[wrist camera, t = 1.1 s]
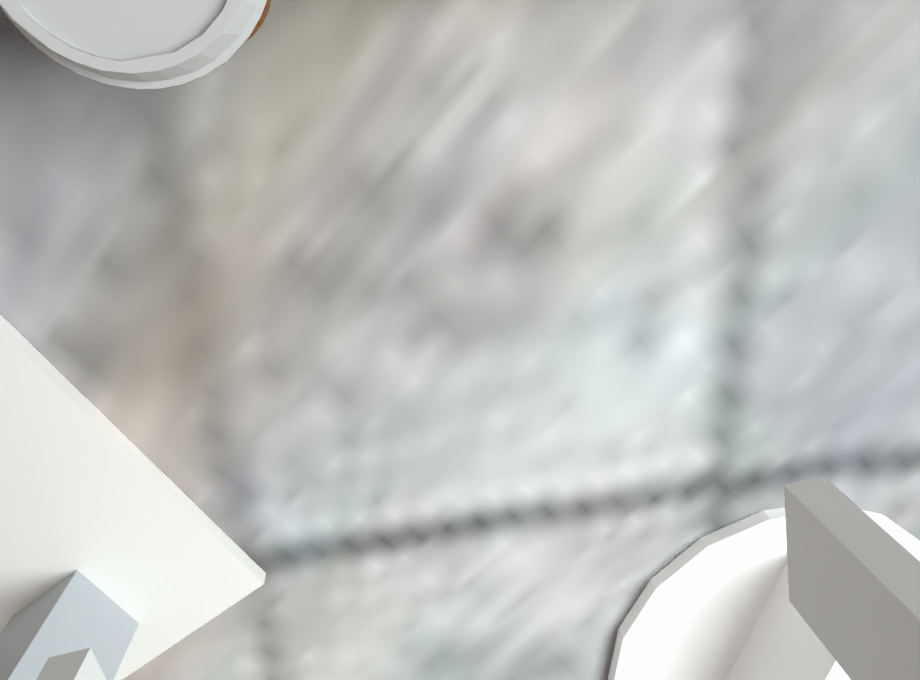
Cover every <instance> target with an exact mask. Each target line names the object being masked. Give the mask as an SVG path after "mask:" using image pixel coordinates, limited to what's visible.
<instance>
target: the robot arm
mask: <svg viewBox="0 0 920 680" xmlns="http://www.w3.org/2000/svg"><path fill="white" fill-rule="evenodd" d="M784 494H785V517H786V541H787V564H788V588H789V601H790V603H791V604H792V605H793V607H794V608H795V609H796V610H797V612H798V613H799V614H800V615H801V617H802V618H803V619H804V620H805V622H806V623H807V624H808V626H809V627H810V628H811V629H812V631H813V632H814V633H815V634H816V636H817V637H818V638H819V640H820V641H821V642H822V643H823V645H824V646H825V647H826V648H827V650H828V651H829V652H830V653H831V655H832V656H833V657H834V659H835V660H836V661H837V662H838V664H839V665H840V666H841V667H842V669H843V670H844V671H845V673H846V674H847V675H848V676H849V678H850V679H851V680H920V561H919V560H918V559H917V558H915V557H914V556H913V555H912V554H911V553H910V552H909V551H907V550H906V549H905V548H904V547H903V546H902V545H901V544H900V543H898V542H897V541H896V540H895V539H894V538H893V537H892V536H891V535H889V534H888V533H887V532H886V531H885V530H884V529H883V528H882V527H880V526H879V525H878V524H877V523H876V522H875V521H874V520H873V519H871V518H870V517H869V516H868V515H867V514H866V513H865V512H864V511H862V510H861V509H860V508H859V507H858V506H857V505H856V504H855V503H853V502H852V501H851V500H850V499H849V498H848V497H847V496H846V495H844V494H843V493H842V492H841V491H840V490H839V489H838V488H836V487H835V486H834V485H833V484H832V483H831V482H830V481H829V480H827V479H826V478H825V477H824V476H821V477H817V478H812V479H808V480H804V481H799V482H795V483H791V484H787V485H784ZM36 680H106V678H105V676H104V674H103V672H102V670H101V668H100V666H99V664H98V662H97V660H96V658H95V656H94V654H93V652H92V650H91V648H87V649H83V650H78V651H74V652H70V653H66V654H61V655H57V656H53V657H49V658H48V660H47V661H46V663H45V665H44V667H43V668H42V670H41V672H40V673H39V675H38V677H37V679H36Z"/></svg>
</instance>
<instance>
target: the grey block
mask: <svg viewBox="0 0 920 680" xmlns="http://www.w3.org/2000/svg"><path fill="white" fill-rule="evenodd" d="M138 625H139V623H138V622H137V621H136V620H135V619H134V618H132V617H131V616H130V615H129V614H128V613H127V612H125V611H124V610H123V609H122V608H121V607H120V606H119V605H117V604H116V603H115V602H114V601H113V600H112V599H110V598H109V597H108V596H107V595H106V594H105V593H103V592H102V591H101V590H100V589H99V588H98V587H96V586H95V585H94V584H93V583H92V582H91V581H90V580H88V579H87V578H86V577H85V576H84V575H83V574H81V573H80V572H79V571H78V570H77V571H75V572H74V573H72V574H71V575H69V576H68V577H67V578H65V579H64V580H62V581H61V582H60V583H58V584H57V585H55V586H54V587H52V588H51V589H50V590H48V591H47V592H45V593H44V594H42V595H41V596H40V597H38V598H37V599H35V600H34V601H33V602H31V603H30V604H28V605H27V606H25V607H24V608H23V609H21V610H20V611H18V612H17V613H16V614H14V615H13V616H12V618H11V619H10V621H9V622H8V623H7V625H6V626H5V628H4V629H3V631H2V632H1V633H0V680H36V679H37V677H38V675H39V673H40V672H41V670H42V668H43V667H44V665H45V663H46V661H47V660H48V658H49V657H53V656H57V655H61V654H66V653H70V652H74V651H78V650H83V649H87V648H91V650H92V652H93V654H94V656H95V658H96V660H97V662H98V664H99V666H100V668H101V670H102V672H103V674H104V676H105V678H106V680H114V677H115V675H116V673H117V671H118V669H119V666H120V664H121V662H122V660H123V658H124V655H125V653H126V651H127V649H128V647H129V644H130V642H131V640H132V638H133V636H134V633H135V631H136V629H137V627H138Z"/></svg>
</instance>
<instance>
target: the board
mask: <svg viewBox="0 0 920 680" xmlns="http://www.w3.org/2000/svg"><path fill="white" fill-rule="evenodd" d="M77 570H78V571H79V572H80V573H81V574H83V575H84V576H85V577H86V578H87V579H88V580H90V581H91V582H92V583H93V584H94V585H95V586H96V587H98V588H99V589H100V590H101V591H102V592H103V593H105V594H106V595H107V596H108V597H109V598H110V599H112V600H113V601H114V602H115V603H116V604H117V605H119V606H120V607H121V608H122V609H123V610H124V611H125V612H127V613H128V614H129V615H130V616H131V617H132V618H134V619H135V620H136V621H137V622H138V623H139V625H138V627H137V629H136V631H135V633H134V636H133V638H132V640H131V642H130V644H129V647H128V649H127V651H126V653H125V655H124V658H123V660H122V662H121V664H120V666H119V669H118V671H117V673H116V675H115V677H114V680H122V679H124V678H125V677H127V676H128V675H130V674H131V673H133V672H134V671H136V670H137V669H139V668H140V667H142V666H143V665H145V664H146V663H147V662H149V661H150V660H152V659H153V658H155V657H156V656H158V655H159V654H161V653H162V652H164V651H165V650H167V649H168V648H170V647H171V646H173V645H174V644H176V643H177V642H179V641H180V640H182V639H183V638H184V637H186V636H187V635H189V634H190V633H192V632H193V631H195V630H196V629H198V628H199V627H201V626H202V625H204V624H205V623H207V622H208V621H210V620H211V619H213V618H214V617H216V616H217V615H219V614H220V613H222V612H223V611H224V610H226V609H227V608H229V607H230V606H232V605H233V604H235V603H236V602H238V601H239V600H241V599H242V598H244V597H245V596H247V595H248V594H250V593H251V592H253V591H254V590H256V589H257V588H259V587H260V586H261V585H263V584H264V580H265V576H266V573H265V572H264V571H263V570H262V569H261V568H260V567H259V566H258V565H257V564H256V563H255V562H254V561H253V560H252V559H251V558H250V557H249V556H248V555H247V554H246V553H245V552H244V551H243V550H242V549H240V548H239V547H238V546H237V545H236V544H235V543H234V542H233V541H232V540H231V539H230V538H229V537H228V536H227V535H226V534H225V533H224V532H223V531H222V530H221V529H220V528H219V527H218V526H217V525H216V524H215V523H214V522H213V521H212V520H211V519H210V518H209V517H208V516H207V515H206V514H205V513H204V512H203V511H202V510H200V509H199V508H198V507H197V506H196V505H195V504H194V503H193V502H192V501H191V500H190V499H189V498H188V497H187V496H186V495H185V494H184V493H183V492H182V491H181V490H180V489H179V488H178V487H177V486H176V485H175V484H174V483H173V482H172V481H171V480H170V479H169V478H168V477H167V476H166V475H165V474H164V473H163V472H161V471H160V470H159V469H158V468H157V467H156V466H155V465H154V464H153V463H152V462H151V461H150V460H149V459H148V458H147V457H146V456H145V455H144V454H143V453H142V452H141V451H140V450H139V449H138V448H137V447H136V446H135V445H134V444H133V443H132V442H131V441H130V440H129V439H128V438H127V437H126V436H125V435H124V434H123V433H121V432H120V431H119V430H118V429H117V428H116V427H115V426H114V425H113V424H112V423H111V422H110V421H109V420H108V419H107V418H106V417H105V416H104V415H103V414H102V413H101V412H100V411H99V410H98V409H97V408H96V407H95V406H94V405H93V404H92V403H91V402H90V401H89V400H88V399H87V398H86V397H85V396H84V395H83V394H81V393H80V392H79V391H78V390H77V389H76V388H75V387H74V386H73V385H72V384H71V383H70V382H69V381H68V380H67V379H66V378H65V377H64V376H63V375H62V374H61V373H60V372H59V371H58V370H57V369H56V368H55V367H54V366H53V365H52V364H51V363H50V362H49V361H48V360H47V359H46V358H45V357H44V356H42V355H41V354H40V353H39V352H38V351H37V350H36V349H35V348H34V347H33V346H32V345H31V344H30V343H29V342H28V341H27V340H26V339H25V338H24V337H23V336H22V335H21V334H20V333H19V332H18V331H17V330H16V329H15V328H14V327H13V326H12V325H11V324H10V323H9V322H8V321H7V320H6V319H5V318H4V317H2V316H1V315H0V633H1V632H2V631H3V629H4V628H5V626H6V625H7V623H8V622H9V621H10V619H11V618H12V616H13V615H14V614H16V613H17V612H18V611H20V610H21V609H23V608H24V607H25V606H27V605H28V604H30V603H31V602H33V601H34V600H35V599H37V598H38V597H40V596H41V595H42V594H44V593H45V592H47V591H48V590H50V589H51V588H52V587H54V586H55V585H57V584H58V583H60V582H61V581H62V580H64V579H65V578H67V577H68V576H69V575H71V574H72V573H74V572H75V571H77Z"/></svg>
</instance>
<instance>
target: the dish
mask: <svg viewBox="0 0 920 680" xmlns="http://www.w3.org/2000/svg"><path fill="white" fill-rule="evenodd" d="M862 511H864V510H862ZM864 512H865V513H866V514H867V515H868V516H869V517H870V518H871V519H873V520H874V521H875V522H876V523H877V524H878V525H879V526H880V527H882V528H883V529H884V530H885V531H886V532H887V533H888V534H889V535H891V536H892V537H893V538H894V539H895V540H896V541H897V542H898V543H900V544H901V545H902V546H903V547H904V548H905V549H906V550H907V551H909V552H910V553H911V554H912V555H913V556H914V557H915V558H917V559H918V560H919V561H920V541H919V540H918V539H917V538H915V537H914V536H912V535H911V534H910V533H908V532H907V531H905V530H904V529H902V528H901V527H900V526H898V525H897V524H895V523H894V522H893V521H891V520H890V519H888V518H887V517H886V516H884V515H883V514H878V513H873V512H869V511H864ZM608 680H851V679H850V678H849V676H848V675H847V674H846V673H845V671H844V670H843V669H842V667H841V666H840V665H839V664H838V662H837V661H836V660H835V659H834V657H833V656H832V655H831V653H830V652H829V651H828V650H827V648H826V647H825V646H824V645H823V643H822V642H821V641H820V640H819V638H818V637H817V636H816V634H815V633H814V632H813V631H812V629H811V628H810V627H809V626H808V624H807V623H806V622H805V620H804V619H803V618H802V617H801V615H800V614H799V613H798V612H797V610H796V609H795V608H794V607H793V605H792V604H791V603H790V601H789V588H788V564H787V541H786V517H785V508H779V509H771V510H763V511H760V512H758V513H756V514H754V515H751V516H749V517H747V518H744V519H742V520H740V521H738V522H735V523H733V524H731V525H728V526H726V527H724V528H721V529H719V530H717V531H715V532H712V533H710V534H708V535H705V536H703V537H701V538H700V539H698V540H697V541H696V542H695V543H694V544H692V545H691V546H690V547H689V548H688V549H686V550H685V551H684V552H683V553H682V554H680V555H679V556H678V557H677V558H675V559H674V560H673V561H672V562H671V563H669V564H668V565H667V566H666V567H665V568H663V569H662V570H661V571H660V572H658V573H657V574H656V575H655V576H654V577H652V578H651V579H650V581H649V582H648V584H647V585H646V587H645V588H644V590H643V592H642V593H641V595H640V596H639V598H638V599H637V601H636V602H635V604H634V605H633V607H632V608H631V610H630V612H629V613H628V615H627V616H626V618H625V619H624V621H623V622H622V624H621V625H620V627H619V629H618V633H617V638H616V643H615V647H614V652H613V656H612V661H611V666H610V670H609V675H608Z"/></svg>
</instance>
